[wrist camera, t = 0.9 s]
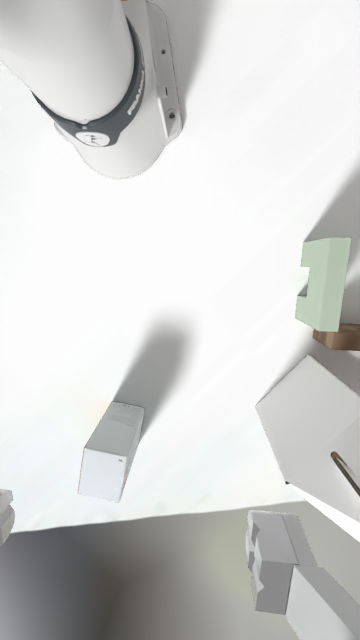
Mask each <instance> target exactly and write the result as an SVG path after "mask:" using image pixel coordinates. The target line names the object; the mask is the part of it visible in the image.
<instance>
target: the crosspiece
mask: <svg viewBox="0 0 360 640" xmlns="http://www.w3.org/2000/svg"><path fill="white" fill-rule="evenodd" d="M351 239H352V238H344V237H330V238H324V239H319V240H314V241H308V242H303V250H302V259H301V267H310V272H309V280H308V289H307V296H299V295H297V304H296V313H295V318H296V319H298V320H300V321H301V322H303V323H305V324H307V325H309V326H310V327H312V328H314V329H316V330H317V331H327V332H338V328H339V322H340V315H341V308H342V301H343V294H344V287H345V281H346V274H347V267H348V260H349V253H350V246H351Z"/></svg>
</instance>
